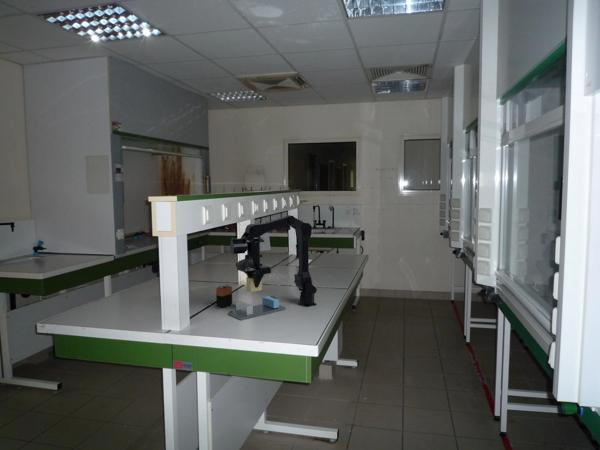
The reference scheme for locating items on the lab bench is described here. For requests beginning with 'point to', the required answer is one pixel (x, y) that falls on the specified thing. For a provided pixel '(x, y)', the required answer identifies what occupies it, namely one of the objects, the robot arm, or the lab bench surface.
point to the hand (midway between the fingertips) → (254, 286)
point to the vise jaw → (270, 301)
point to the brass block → (252, 284)
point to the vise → (252, 310)
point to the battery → (224, 296)
